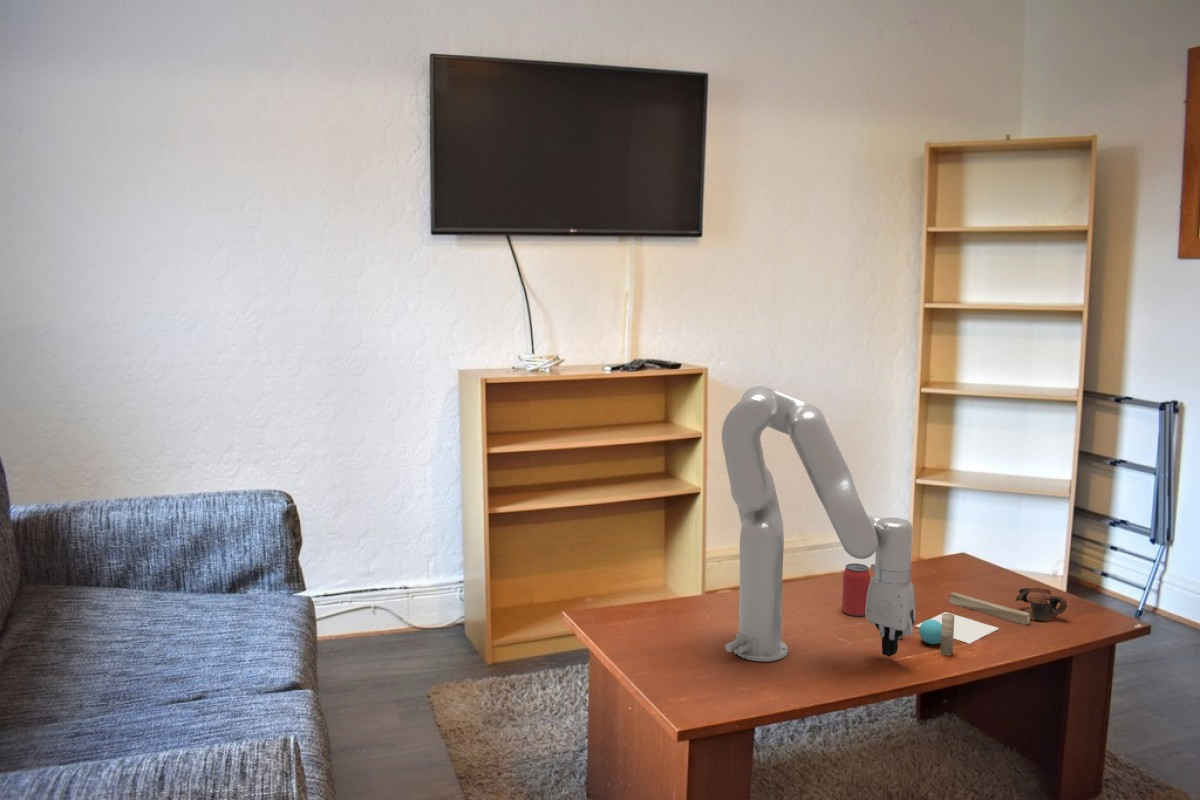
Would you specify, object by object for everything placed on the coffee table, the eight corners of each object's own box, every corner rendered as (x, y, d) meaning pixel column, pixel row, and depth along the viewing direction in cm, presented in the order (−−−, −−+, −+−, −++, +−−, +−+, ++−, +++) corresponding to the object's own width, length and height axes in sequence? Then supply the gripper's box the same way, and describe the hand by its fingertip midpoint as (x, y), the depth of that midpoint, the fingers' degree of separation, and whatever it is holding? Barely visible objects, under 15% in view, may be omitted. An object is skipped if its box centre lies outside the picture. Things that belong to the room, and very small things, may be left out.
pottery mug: (1011, 619, 229) (1009, 586, 232) (1024, 626, 236) (1022, 594, 239) (1063, 619, 222) (1060, 584, 225) (1075, 626, 228) (1072, 592, 231)
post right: (948, 657, 206) (950, 618, 205) (938, 653, 208) (939, 615, 207) (954, 653, 208) (956, 615, 207) (944, 650, 210) (946, 612, 209)
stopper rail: (1025, 625, 224) (1025, 615, 224) (949, 603, 239) (949, 593, 239) (1029, 623, 225) (1029, 613, 225) (953, 601, 241) (953, 592, 240)
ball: (935, 648, 210) (938, 624, 209) (913, 641, 214) (916, 617, 214) (947, 645, 213) (950, 622, 213) (925, 638, 218) (928, 615, 217)
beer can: (872, 617, 230) (873, 571, 228) (845, 617, 230) (847, 570, 228) (865, 607, 237) (866, 562, 235) (839, 607, 237) (840, 562, 235)
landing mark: (969, 644, 213) (969, 643, 213) (915, 626, 224) (915, 625, 224) (999, 629, 222) (999, 628, 222) (945, 612, 233) (945, 611, 233)
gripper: (853, 569, 205) (850, 648, 208) (913, 587, 194) (910, 669, 196) (873, 563, 210) (870, 639, 212) (932, 579, 199) (929, 660, 201)
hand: (889, 653), depth 204 cm, fingers closed
